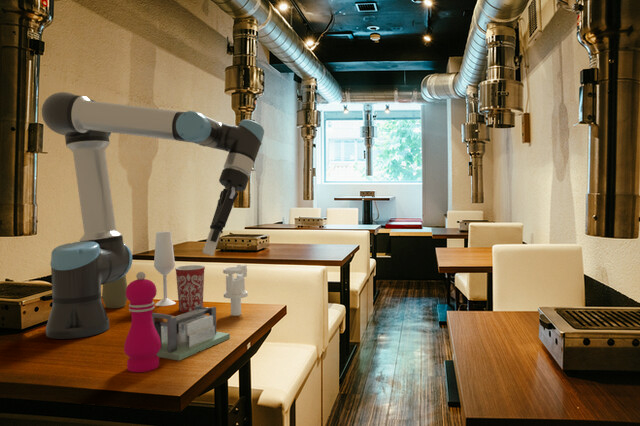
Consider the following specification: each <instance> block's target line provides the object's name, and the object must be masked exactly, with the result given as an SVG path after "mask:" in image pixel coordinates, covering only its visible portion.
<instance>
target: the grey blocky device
mask: <svg viewBox="0 0 640 426" xmlns="http://www.w3.org/2000/svg"><path fill="white" fill-rule="evenodd" d="M200 307H201V305H197V306H195V310H196V309H199V308H200ZM208 308H209V314H208V315H207V314H204V315H201V316H199V317H196V318H193V319H190V320H187V321H184V322H182V323H179V324H176V317H172V316H173V315H172V314H168V313H167V314H166V313H157V312H152V319H153V324H154V326H155V329H156V331H157V333H158V335H159V337H160V340H161V348H162V344H164V345H168V352H169V353H171V352H174V351H176V350H177V347H183V348H189V349H190V348H192V347H195V346H197V345H199V344H202V343H204V342H207V341H209V340H211V339H214V338H215V334H216V332H217V307H216V306H211V307H208ZM160 318H163V319H167V327H166V326H159V322H160Z"/></svg>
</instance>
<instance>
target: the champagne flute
mask: <svg viewBox="0 0 640 426" xmlns="http://www.w3.org/2000/svg"><path fill="white" fill-rule="evenodd" d="M154 243H155V245H154V258H153V259H154V260H153V261H154V262H153V266H154V269H155V270H156V271H157V272H158V273H159V274H161V275H162V285H163V287H162V288H163V291H162V292H163V298H162V299H161V300H159V301H157V302H156V303H154V306H157V307H166V306H174V305H176V304H177V302H175V301H174V300H173V299H170V298H168V280H167V277H168V275H169V274H170V273H171V271H172V270H173V269H175V268H174V267H175V265H176V260H175V254H174V244H173V237H172V231H170V230H169V231H157V232H155V242H154Z"/></svg>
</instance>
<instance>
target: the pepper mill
mask: <svg viewBox="0 0 640 426" xmlns="http://www.w3.org/2000/svg"><path fill="white" fill-rule="evenodd" d="M135 276H136V279H134V280H132V281H131V282H130V283H129V284H127V288H126V297H127V301H129V304H128V307H129V308H128V311H129V312H130V315H131V323H130V328H129V331H128V333H127V336H126V338H125V341H124V346H123V347H124V348H123V349H124V350H123V351H124V354H125V355H126V356H127V357H128V359H127V360H126V363H127V365H126V367H127V371H128V372H131V373H145V372H146V373H147V372H151V371H153V370H156V369H157V368H159V366H160V357H158V356H157V355H156V354H157V353H158V352H159V350H160V349H161V340H160V337H159V335H158V333H157V331H156V329H155V326H154V324H153V319H152V313H153V311H154V309H155V307H156V306H155V301H153V300H154V299H155V297H156V296H157V293H158V292H157V291H158V289H157V287H156V284H155V283H154V282H153V281H152V280H150V279H146V274H145V272H144V271H139V272H137V273H136V275H135Z"/></svg>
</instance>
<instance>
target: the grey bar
mask: <svg viewBox="0 0 640 426" xmlns="http://www.w3.org/2000/svg"><path fill="white" fill-rule="evenodd" d="M209 308H210V307H205V306H203V307H200V308H199V309H196V310H193V311H190V312H183V313H181V314H178V315H176V316H175V315H172V317H176V324H179V323H182V322H184V321H187V320H190V319H193V318H196V317H199V316H201V315H207V314H208V315H209ZM159 326H166V327H167V319H163V318H160V322H159Z"/></svg>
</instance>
